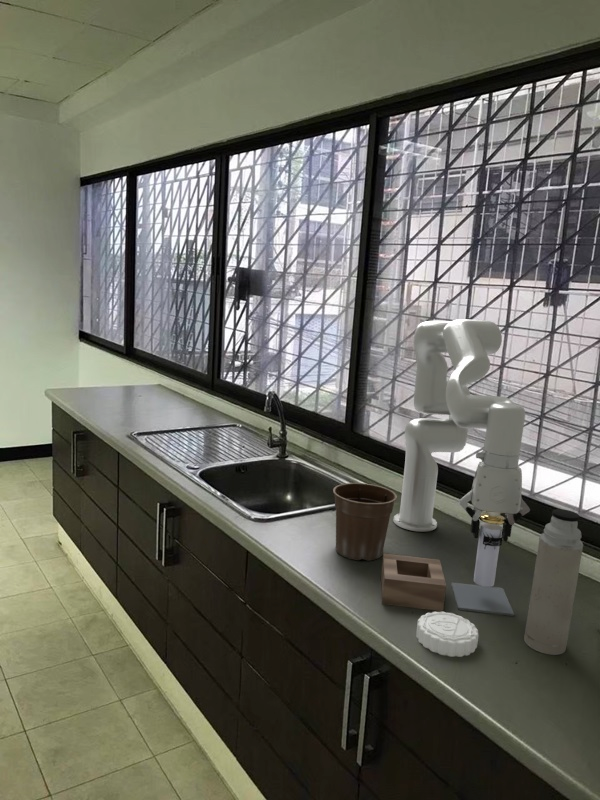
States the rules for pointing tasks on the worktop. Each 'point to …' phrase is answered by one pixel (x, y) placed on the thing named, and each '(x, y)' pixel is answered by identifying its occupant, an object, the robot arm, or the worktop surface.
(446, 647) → the mooncake
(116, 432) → the worktop surface
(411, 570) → the frame
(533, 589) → the thermos bottle
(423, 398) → the robot arm
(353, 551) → the plant pot
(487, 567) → the perfume bottle
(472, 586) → the mat
